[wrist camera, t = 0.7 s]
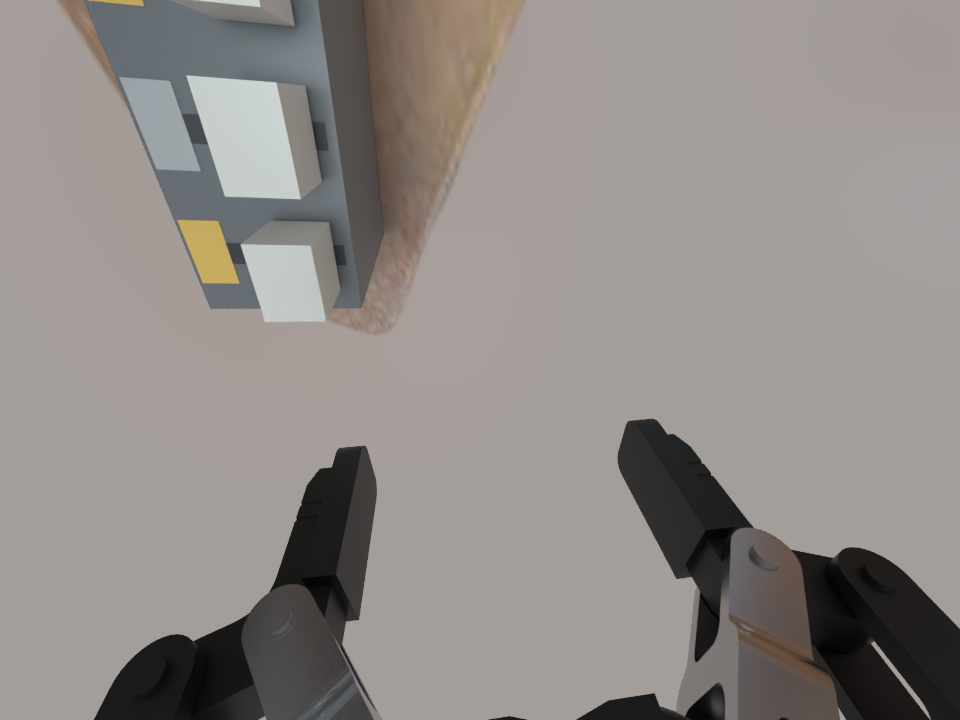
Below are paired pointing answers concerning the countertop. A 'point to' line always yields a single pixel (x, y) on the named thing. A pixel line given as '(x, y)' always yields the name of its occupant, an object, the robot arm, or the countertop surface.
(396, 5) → the countertop surface
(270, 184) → the tab middle
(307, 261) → the tab back
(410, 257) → the countertop surface
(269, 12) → the tab front
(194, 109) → the switch box
